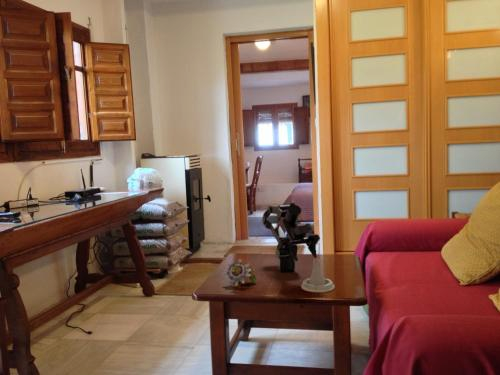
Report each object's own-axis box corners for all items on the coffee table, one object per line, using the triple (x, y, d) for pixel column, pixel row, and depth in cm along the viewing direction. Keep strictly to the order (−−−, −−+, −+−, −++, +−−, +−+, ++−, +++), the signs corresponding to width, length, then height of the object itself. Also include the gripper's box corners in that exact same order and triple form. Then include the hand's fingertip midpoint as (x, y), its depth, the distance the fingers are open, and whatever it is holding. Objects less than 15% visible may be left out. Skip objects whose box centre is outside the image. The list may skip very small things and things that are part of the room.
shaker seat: (305, 293, 163) (305, 287, 163) (298, 283, 176) (298, 278, 176) (338, 291, 165) (338, 285, 164) (329, 281, 177) (329, 276, 177)
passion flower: (237, 298, 176) (219, 277, 174) (240, 285, 186) (223, 265, 184) (259, 284, 173) (240, 262, 171) (261, 272, 183) (244, 251, 181)
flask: (325, 282, 174) (324, 258, 173) (327, 288, 167) (327, 262, 166) (307, 282, 174) (306, 258, 173) (308, 288, 167) (308, 263, 166)
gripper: (279, 219, 177) (294, 251, 168) (317, 215, 185) (333, 245, 176) (270, 235, 184) (284, 266, 175) (307, 230, 193) (322, 260, 184)
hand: (306, 259), depth 177 cm, fingers open, 9 cm apart
